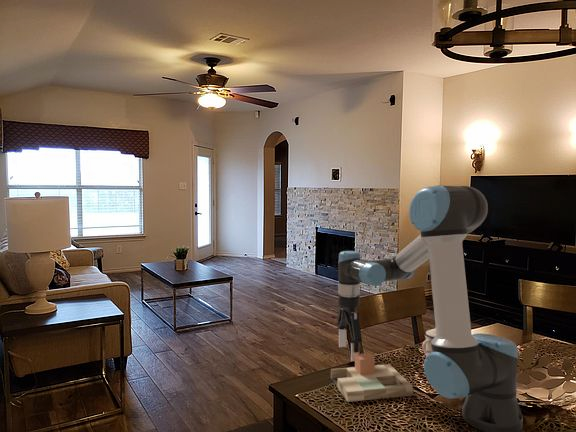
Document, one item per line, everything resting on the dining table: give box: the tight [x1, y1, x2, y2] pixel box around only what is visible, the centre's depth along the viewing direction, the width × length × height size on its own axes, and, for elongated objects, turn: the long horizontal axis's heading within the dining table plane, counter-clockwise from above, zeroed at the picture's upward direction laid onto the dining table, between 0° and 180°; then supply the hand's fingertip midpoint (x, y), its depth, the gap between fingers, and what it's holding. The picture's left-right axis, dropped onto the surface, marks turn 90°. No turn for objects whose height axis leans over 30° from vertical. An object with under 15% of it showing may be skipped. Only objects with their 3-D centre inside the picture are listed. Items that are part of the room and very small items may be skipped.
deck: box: [330, 363, 414, 403], centre depth 141 cm, size 17×21×3 cm
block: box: [354, 352, 376, 375], centre depth 146 cm, size 5×5×5 cm
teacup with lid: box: [421, 326, 437, 357], centre depth 165 cm, size 12×9×12 cm
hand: (348, 353), depth 157 cm, fingers open, 13 cm apart
